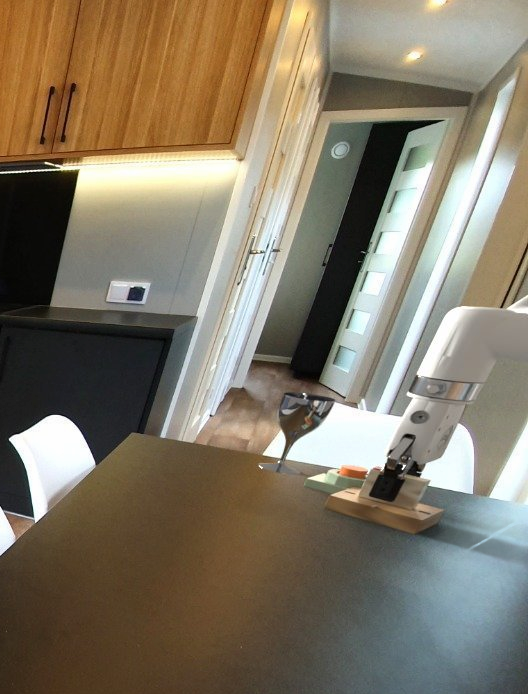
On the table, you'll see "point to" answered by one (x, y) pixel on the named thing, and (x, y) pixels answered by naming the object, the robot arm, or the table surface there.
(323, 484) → the button box
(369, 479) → the holder
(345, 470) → the button
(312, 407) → the wine glass
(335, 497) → the holder base
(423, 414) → the robot arm
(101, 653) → the table surface
